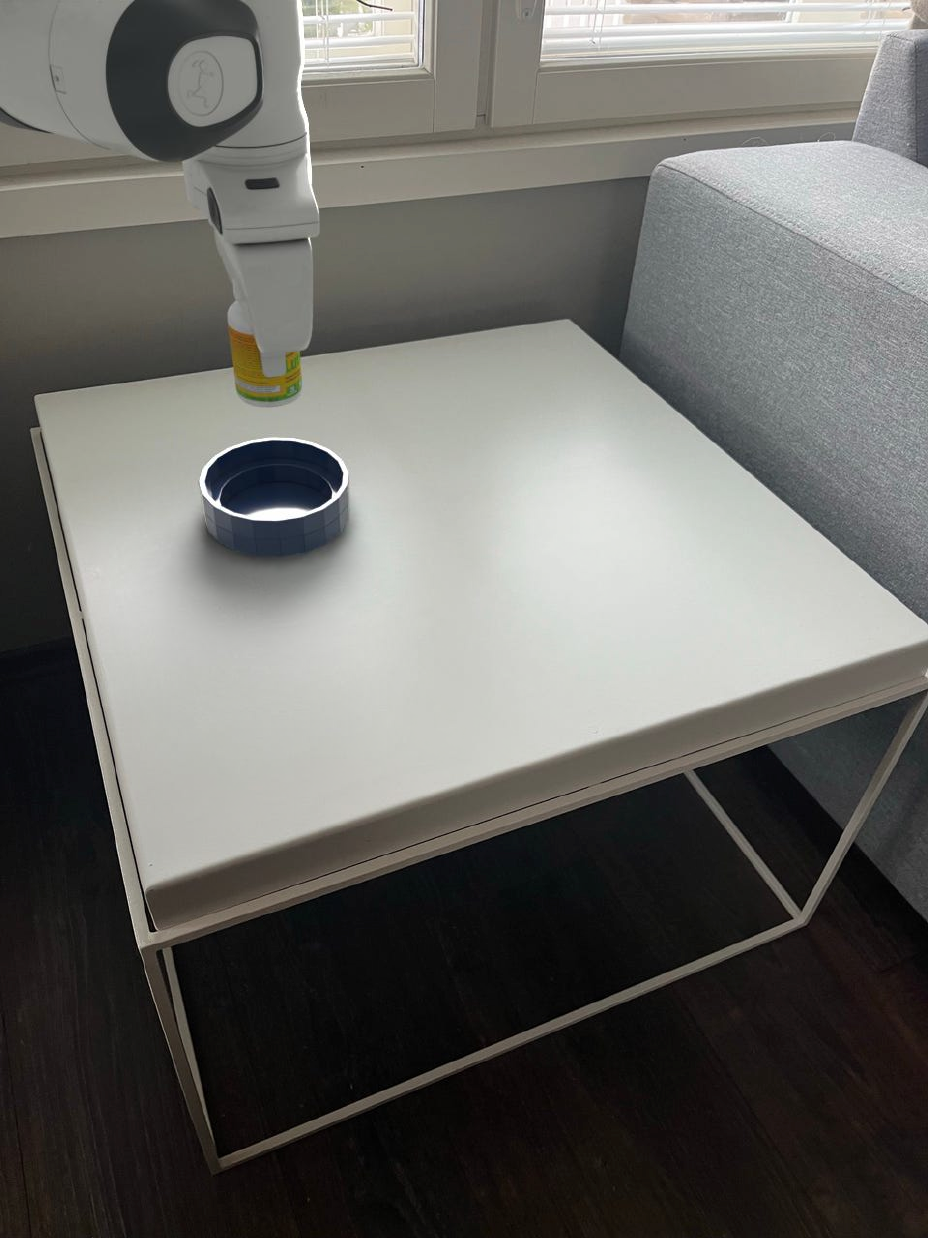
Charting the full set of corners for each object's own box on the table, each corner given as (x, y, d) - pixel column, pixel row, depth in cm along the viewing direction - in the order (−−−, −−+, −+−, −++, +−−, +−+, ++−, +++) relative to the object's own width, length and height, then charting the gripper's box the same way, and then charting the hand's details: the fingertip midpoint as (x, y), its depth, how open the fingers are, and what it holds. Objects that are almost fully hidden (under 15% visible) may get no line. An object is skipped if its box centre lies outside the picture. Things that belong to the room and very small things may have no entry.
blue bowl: (218, 574, 83) (212, 531, 80) (195, 489, 92) (189, 448, 89) (365, 548, 87) (365, 507, 84) (330, 469, 95) (328, 429, 92)
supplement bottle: (297, 411, 78) (288, 295, 72) (230, 407, 78) (215, 291, 72) (307, 378, 82) (299, 266, 76) (243, 374, 82) (230, 261, 76)
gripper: (182, 129, 75) (205, 301, 84) (226, 228, 61) (248, 422, 70) (264, 125, 76) (277, 294, 86) (325, 221, 62) (334, 410, 72)
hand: (265, 352), depth 78 cm, fingers closed on supplement bottle, 5 cm apart
